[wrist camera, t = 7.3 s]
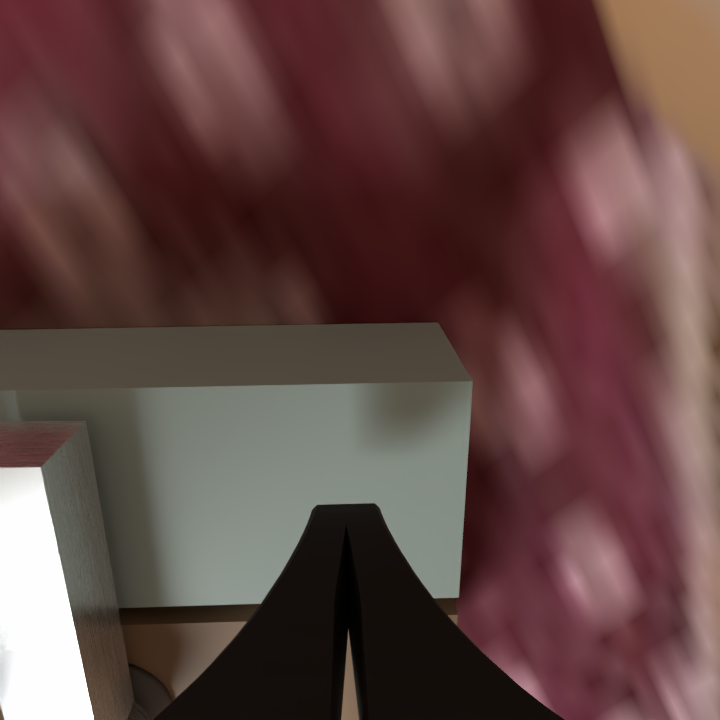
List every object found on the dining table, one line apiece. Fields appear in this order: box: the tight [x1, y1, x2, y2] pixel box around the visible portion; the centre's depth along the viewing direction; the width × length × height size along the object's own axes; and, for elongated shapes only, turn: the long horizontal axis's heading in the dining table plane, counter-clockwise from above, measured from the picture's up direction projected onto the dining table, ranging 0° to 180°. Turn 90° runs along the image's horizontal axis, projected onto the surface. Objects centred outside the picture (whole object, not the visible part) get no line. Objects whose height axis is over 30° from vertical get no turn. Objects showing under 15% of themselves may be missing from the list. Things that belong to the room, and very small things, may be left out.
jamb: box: [0, 598, 458, 720], centre depth 19 cm, size 15×6×5 cm, turn 90°
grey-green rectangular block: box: [0, 322, 473, 608], centre depth 15 cm, size 15×6×7 cm, turn 90°
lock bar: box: [0, 421, 152, 720], centre depth 13 cm, size 11×3×3 cm, turn 179°
